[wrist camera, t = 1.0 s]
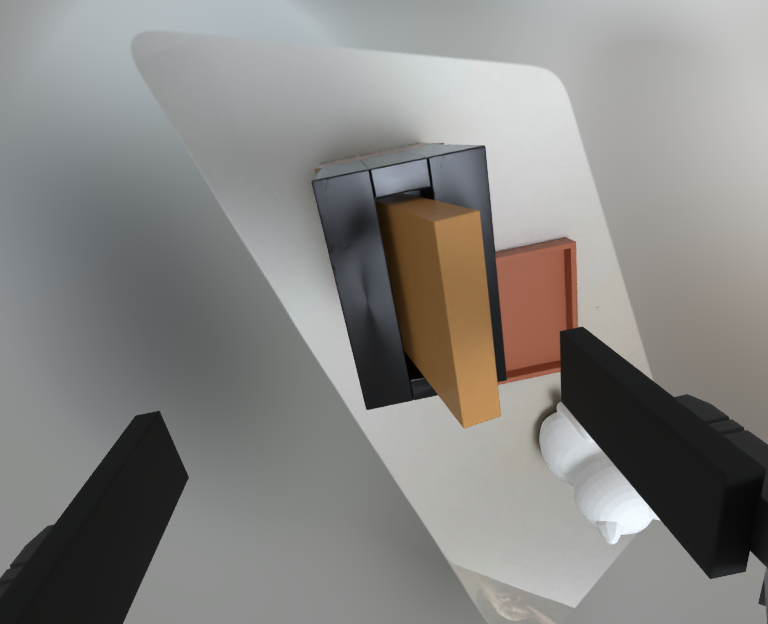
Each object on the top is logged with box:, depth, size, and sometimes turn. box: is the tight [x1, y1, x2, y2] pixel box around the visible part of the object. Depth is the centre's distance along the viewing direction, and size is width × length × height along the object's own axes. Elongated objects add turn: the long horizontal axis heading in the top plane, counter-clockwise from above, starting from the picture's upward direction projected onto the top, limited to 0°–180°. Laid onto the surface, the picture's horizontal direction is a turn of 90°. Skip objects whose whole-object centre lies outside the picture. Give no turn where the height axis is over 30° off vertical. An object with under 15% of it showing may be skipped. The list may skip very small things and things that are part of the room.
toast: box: [375, 193, 501, 428], centre depth 24 cm, size 10×2×10 cm, turn 11°
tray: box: [495, 238, 578, 385], centre depth 49 cm, size 15×13×2 cm
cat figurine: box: [539, 402, 660, 545], centre depth 49 cm, size 9×12×15 cm
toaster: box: [312, 143, 507, 410], centre depth 35 cm, size 16×10×22 cm, turn 11°
